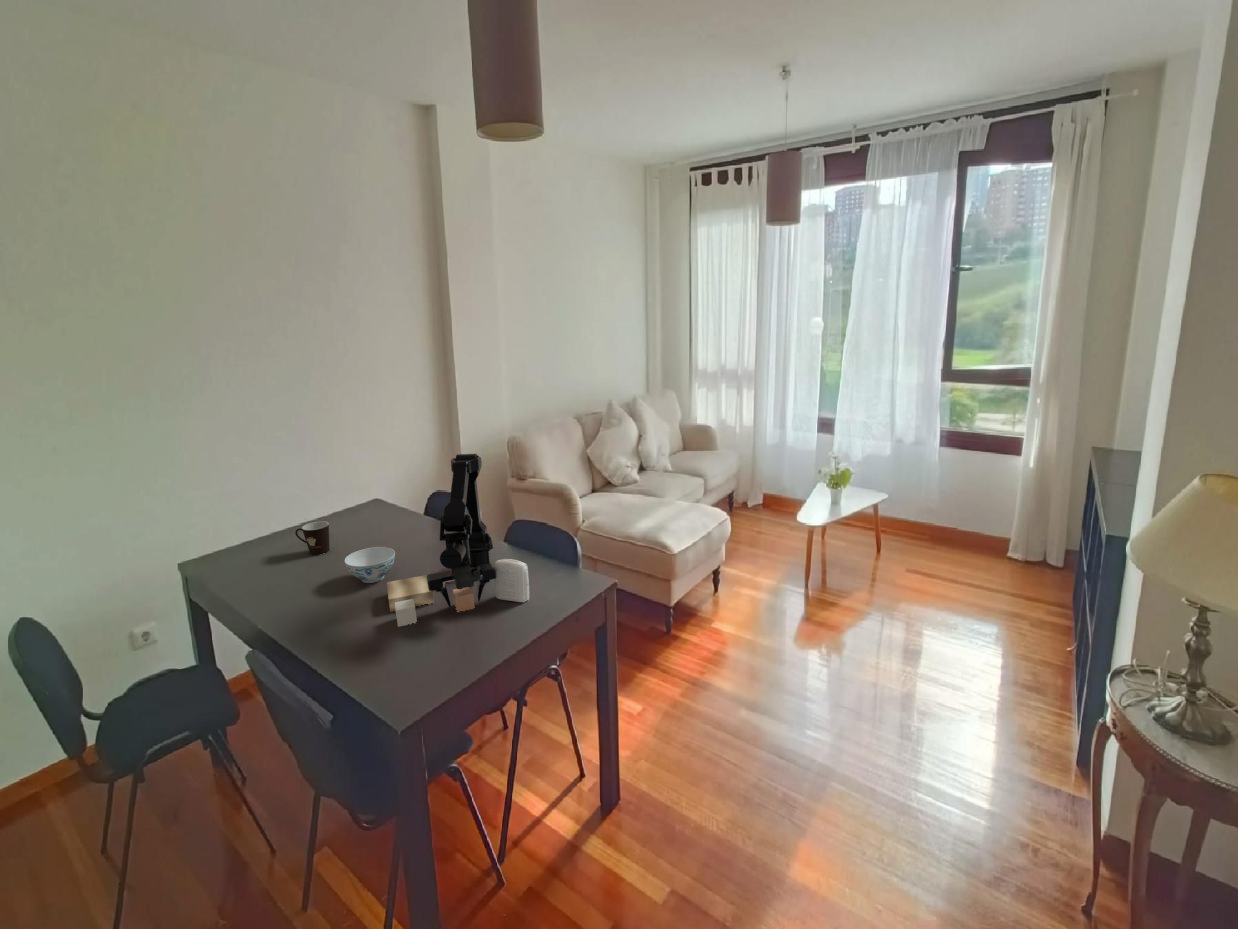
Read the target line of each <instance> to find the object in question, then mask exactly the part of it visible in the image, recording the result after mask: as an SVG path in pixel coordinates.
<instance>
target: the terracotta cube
mask: <svg viewBox="0 0 1238 929" xmlns="http://www.w3.org/2000/svg"><path fill="white" fill-rule="evenodd" d="M452 592H453V593H452V594H453V602H454V607H456V608H455V611H456V610H457V611H456V613H457V612H458V613H460V612H459V611H463V612H466V611H465V610H468V609H472V608H476V607H475V596H474V592H473V588H472V587H467V588H463V589H457V588H455V589H452ZM468 611H469V610H468Z"/></svg>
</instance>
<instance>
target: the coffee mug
mask: <svg viewBox="0 0 1238 929" xmlns="http://www.w3.org/2000/svg"><path fill="white" fill-rule="evenodd" d="M298 531H302V533H303V536H304V539H303V538H301V536H300V535H299V534H298ZM294 534H295V536H296V537H297V538H298V539H299V540H300V541H302V542H303V543H305V544H306V546H307V549H308V552H309V555H310V554H311V555H310V556H314V555H315V556H321V555H320V554H322V555H324V554H323V553H325V554H327V553H329V552H330V550H329V549H330V523H329V522H328V521H325V520H322V521H313V522H309V523H306V524H304V525H303V526H302V527H301V528H297V529H295V532H294ZM328 551H329V552H328Z"/></svg>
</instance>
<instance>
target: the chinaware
mask: <svg viewBox="0 0 1238 929" xmlns="http://www.w3.org/2000/svg"><path fill="white" fill-rule="evenodd" d="M395 557H396V552H395V550H394V549H393V548H390V547H387V546H375V547H374V546H373V547H368V548H363V549H360V550H359V549H358V550H357V551H353V552H352V553H350V554H349V555H347V556H346V557H345V559H344V562H343V563H344V565H345V566H346V569H347V570H348V572H349V573H350V574H351V575H352V576H354V577H355V578H357V579H360V580H361V582H363V583H366V584H371V583H373V584H374V583H377V582H380V581H382V580H383V579H384V578H385V575H387V573H389V571H390V570H391V568H392V567H393V565H394V562H395V559H396V558H395ZM379 580H380V581H379Z"/></svg>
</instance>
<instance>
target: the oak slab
mask: <svg viewBox="0 0 1238 929" xmlns="http://www.w3.org/2000/svg"><path fill="white" fill-rule="evenodd" d="M427 575H428V574H425V575H420V576H414V577H408V578H404V579H402V578H401V579H397V580H392V581H391V580H390V581H387V582H386V588H387V595H388V596H387V598H388V606H389V612H390V613H392V612H393V611H394V612H396V609H395V602H400V601H405V600H410V599H414V604H415V606H418V607H422V606H421V605H423V606H425V605H424V604H428V605H432V604H431V603H433V604H434V603H435V602H434V596H433V595H434V594H433V591H429V589H428V585H427V578H426V577H427Z"/></svg>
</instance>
